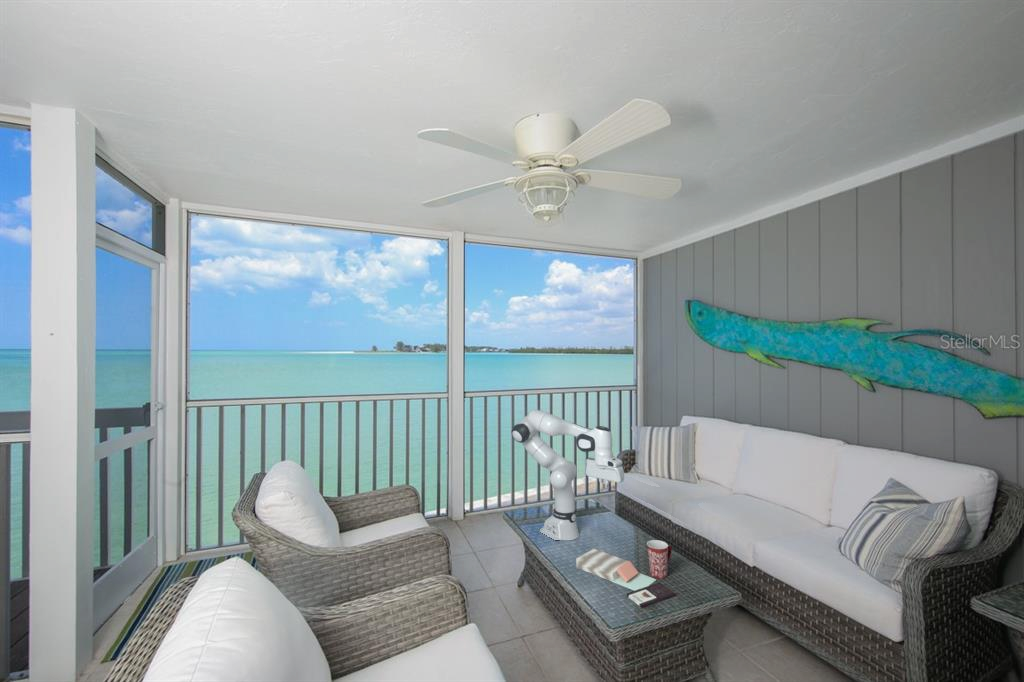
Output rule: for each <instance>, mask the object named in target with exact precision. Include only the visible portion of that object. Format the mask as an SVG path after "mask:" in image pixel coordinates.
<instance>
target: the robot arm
mask: <svg viewBox="0 0 1024 682" xmlns="http://www.w3.org/2000/svg"><path fill="white" fill-rule="evenodd" d="M539 433H542V434H544V435H547V436H551V437H555V436H565V435H569V436H573V437H575V438H576V439H575V444H576V447H577V449H578V450H579V451H581V452H583V453H589V452H593V453H594V457H587V459H586V460H585V461H586V462H585V463H586V467H585V474H586V476H587V477H591V478H595V479H598V481H599V483H600V486H601V489H604V490H605V489H606V490H608V489H609V485H610V483H611V482H613V483H617V484H619V483H623V482H624V480H625V472H624V471H625V469H624V467H623V466H622V465H623V461H622V459H620V458H618V457H615V455H614V454H613V453H614V452H613V436H612V432H611V430H610V428H608V427H606V426H603V425H602V426H601V425H597V426H595V427H594V428H588V427H585V426H582V425H579V424H577V423H575V422H574V423H573V422H571V421H568V420H566V419H562V418H561V417H559V416H556V415H553V414H551V413H549V412H547V411H543V410H540V409H533V410H530V412H529V413H528V414H527V415H525V416H524V417H522V418H521V419H520V420H519V422H517V423H516V424H515V425H513V427H512V428H511V436H512V438H513V439H514V440H515V442H517V443H520V444H521V445H523V447H524V449H525V450H526V451H527V453H528V454H529V455H530V457H532V458H533V459H534V460H535V461H536V462H537V463H538V465H540V466H541V467H542V468H545V469H547V470H548V471H550V472H551V474H550V476H549V482H550V484H551V486H552V489H553V494H554V508H553V509H551V511H550V512H551V513H552V515H551V516H549V517H548V518H547V519H545V521H544V524H543V526H542V527H541V528H540V529H539V533H540V532H541V533H540V534H542V533H543V534H542V535H544V534H545V535H544V536H546V535H547V536H546V537H548V538H549V537H550V538H549V539H551V538H552V539H551V540H553V539H554V541H555V540H560V541H573V540H576V539H578V538H579V537H580V533H579V530H578V525H577V509H576V495H575V493H574V490H573V485H572V484H573V483H572V482H573V481H574V479H575V478H576V477H577V473H578V469H577V468H578V467H577V465H576V463H574V462H572V461H571V460H570V461H569V460H568V459H566V458H565V457H563V456H562V455H560V454H559V453H558V452H556V451H555V450H554V449H553V448H552V447H551V446H550V444H549V445H548V443H546V441H545V440H543V439H542V438H541V437H540V435H539ZM604 481H605V482H604Z"/></svg>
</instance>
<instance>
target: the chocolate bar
mask: <svg viewBox="0 0 1024 682" xmlns="http://www.w3.org/2000/svg"><path fill="white" fill-rule="evenodd" d="M676 595H677V594H676V592H674V591H673V590H671V589H670V588H668V587H667V586H666V585H664V584H663V583H662V582H657V583H652V584H651V585H650V586H647V587H644V588H641V589H638V590H635V591H634V590H632V591H630V592H626V597H628V599H630V600H631V601H632V602H634V603H635V604H636V605H638V606H639V607H640V608H641V609H643V608H646V607H650V606H651V605H653V604H654V605H655V604H657V603H660V602H662V601H665V600H668V599H671V598H674V597H676Z"/></svg>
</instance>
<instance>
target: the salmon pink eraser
mask: <svg viewBox="0 0 1024 682" xmlns="http://www.w3.org/2000/svg"><path fill="white" fill-rule="evenodd" d="M627 561H628V562H626V563H625V564H623V565H622V566H620V567H619V568H618V569H617V570H616V571H617V572H618V574H619V575H620V576H621V578H622V579H623V580H624V581H625V583H626V582H627V581H629V580H630V579H632V578H633V577H634V576H636V575H637V574H638V573H640V572H639V571H638V570H637V568H636V567H635V566H634V565H633V563H632V562H631V561H630V560H627Z"/></svg>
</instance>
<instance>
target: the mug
mask: <svg viewBox="0 0 1024 682" xmlns="http://www.w3.org/2000/svg"><path fill="white" fill-rule="evenodd" d="M646 545H647V552H648V562H649V573H650V575H651V576H652V578H653V577H654V578H657V579H664V578H667V577H668V565H669V562H670V559H671V557H672V556H671V555H672V552H673V551H672V546H671V545H670V544H668V543H667V542H665V541H663V540H659V539H658V540H657V539H652V540H648V541H647V542H646Z"/></svg>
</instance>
